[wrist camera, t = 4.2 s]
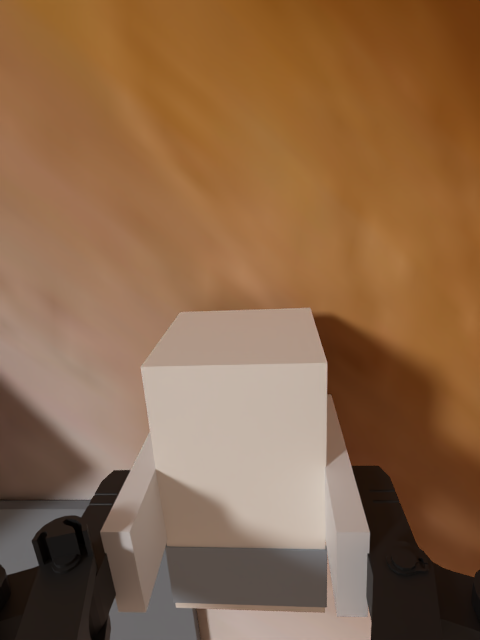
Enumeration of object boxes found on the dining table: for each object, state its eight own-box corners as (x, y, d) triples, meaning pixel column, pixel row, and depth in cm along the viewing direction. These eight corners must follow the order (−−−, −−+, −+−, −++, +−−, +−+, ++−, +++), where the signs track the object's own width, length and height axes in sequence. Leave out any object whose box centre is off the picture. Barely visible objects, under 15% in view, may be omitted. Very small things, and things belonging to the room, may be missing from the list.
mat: (-116, 500, 21) (-127, 509, 21) (179, 499, 20) (177, 509, 19) (-32, 701, 26) (-39, 713, 26) (211, 714, 25) (209, 726, 24)
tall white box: (178, 312, 16) (138, 367, 11) (311, 307, 15) (329, 363, 11) (199, 499, 19) (174, 608, 14) (312, 500, 18) (326, 613, 13)
